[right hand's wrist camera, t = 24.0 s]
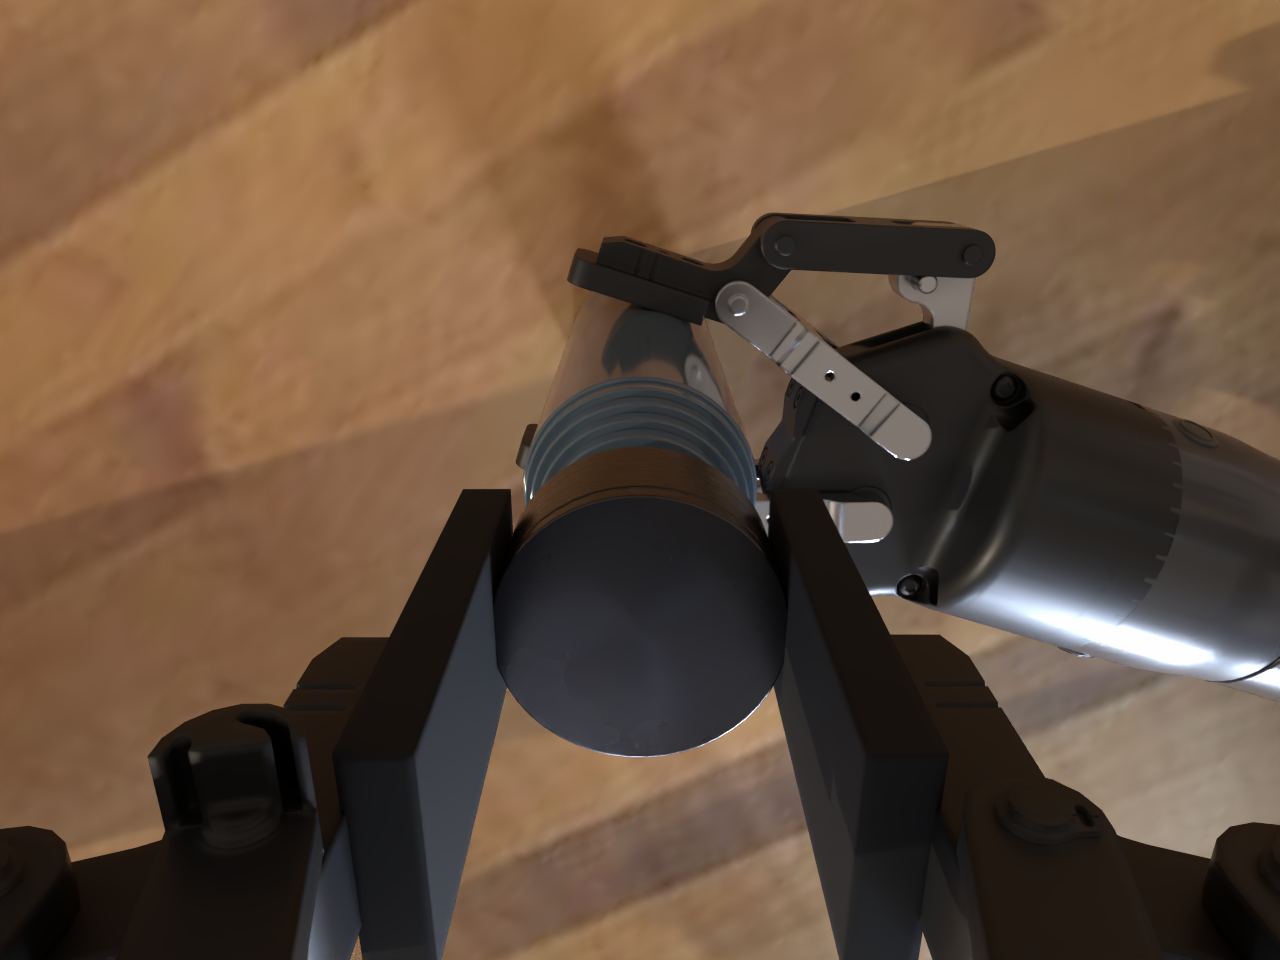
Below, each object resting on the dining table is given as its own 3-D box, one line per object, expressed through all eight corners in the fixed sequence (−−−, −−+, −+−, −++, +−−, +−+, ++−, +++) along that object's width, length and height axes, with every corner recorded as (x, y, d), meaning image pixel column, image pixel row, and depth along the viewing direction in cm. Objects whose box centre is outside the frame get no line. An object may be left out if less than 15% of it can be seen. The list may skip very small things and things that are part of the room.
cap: (630, 389, 14) (629, 432, 12) (824, 559, 15) (853, 625, 13) (456, 575, 15) (428, 643, 13) (648, 722, 16) (649, 805, 14)
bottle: (602, 248, 30) (548, 413, 12) (729, 303, 30) (851, 532, 13) (552, 375, 31) (441, 681, 14) (674, 424, 32) (717, 776, 14)
